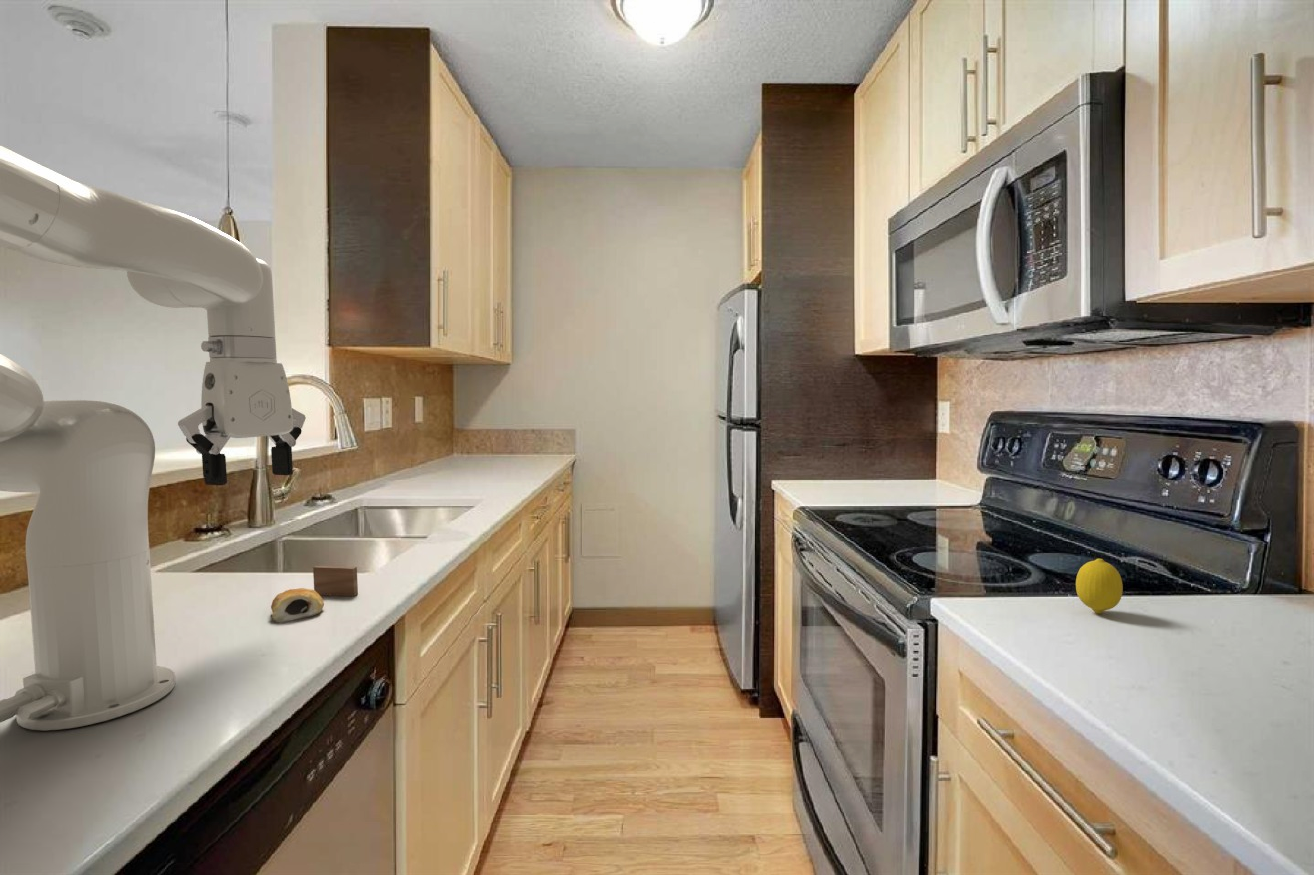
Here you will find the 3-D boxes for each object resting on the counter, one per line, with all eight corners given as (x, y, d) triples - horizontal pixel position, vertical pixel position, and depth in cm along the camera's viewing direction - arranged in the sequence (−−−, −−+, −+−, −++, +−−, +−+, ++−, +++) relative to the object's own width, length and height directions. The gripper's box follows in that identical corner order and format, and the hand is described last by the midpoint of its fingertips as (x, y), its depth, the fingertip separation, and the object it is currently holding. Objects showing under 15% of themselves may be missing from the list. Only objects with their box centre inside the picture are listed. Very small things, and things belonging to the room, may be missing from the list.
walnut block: (354, 596, 102) (353, 568, 102) (314, 594, 103) (313, 567, 103) (357, 594, 103) (356, 567, 103) (318, 592, 104) (317, 565, 104)
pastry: (270, 607, 98) (269, 583, 98) (319, 599, 102) (319, 576, 101) (272, 625, 90) (271, 599, 90) (326, 616, 94) (325, 591, 94)
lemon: (1114, 623, 88) (1116, 565, 87) (1068, 612, 92) (1070, 558, 92) (1126, 614, 91) (1129, 559, 91) (1082, 604, 96) (1084, 551, 95)
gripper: (198, 347, 76) (207, 490, 77) (319, 354, 92) (324, 472, 94) (155, 349, 78) (164, 487, 80) (280, 355, 95) (286, 470, 96)
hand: (251, 479), depth 87 cm, fingers open, 9 cm apart
